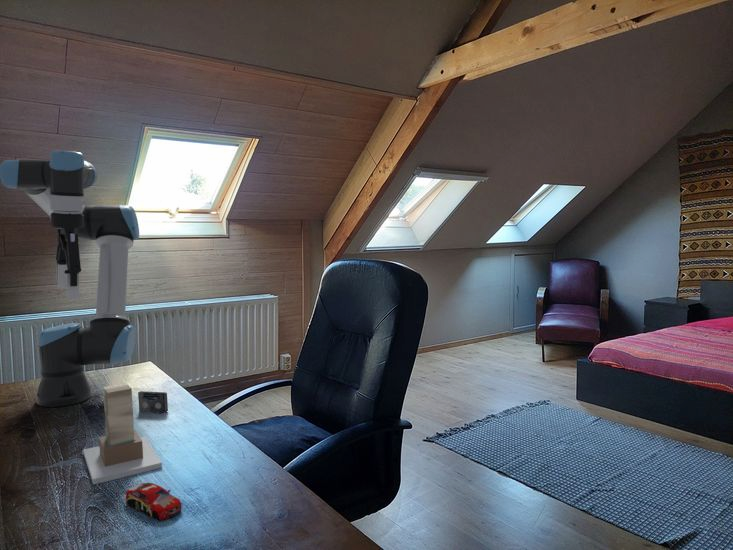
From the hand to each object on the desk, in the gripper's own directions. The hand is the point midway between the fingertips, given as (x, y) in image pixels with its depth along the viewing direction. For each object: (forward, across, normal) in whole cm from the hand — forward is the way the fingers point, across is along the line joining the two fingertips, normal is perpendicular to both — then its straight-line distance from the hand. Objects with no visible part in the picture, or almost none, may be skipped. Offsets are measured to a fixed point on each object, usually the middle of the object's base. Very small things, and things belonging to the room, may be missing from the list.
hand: (68, 293), depth 144 cm
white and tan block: (+33, -33, -5) cm, 47 cm away
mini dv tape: (+36, -4, -21) cm, 42 cm away
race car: (+31, -59, -5) cm, 67 cm away
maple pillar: (+28, -32, -5) cm, 43 cm away
